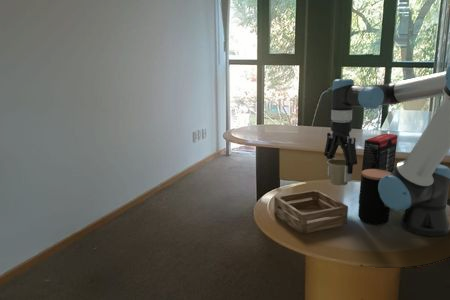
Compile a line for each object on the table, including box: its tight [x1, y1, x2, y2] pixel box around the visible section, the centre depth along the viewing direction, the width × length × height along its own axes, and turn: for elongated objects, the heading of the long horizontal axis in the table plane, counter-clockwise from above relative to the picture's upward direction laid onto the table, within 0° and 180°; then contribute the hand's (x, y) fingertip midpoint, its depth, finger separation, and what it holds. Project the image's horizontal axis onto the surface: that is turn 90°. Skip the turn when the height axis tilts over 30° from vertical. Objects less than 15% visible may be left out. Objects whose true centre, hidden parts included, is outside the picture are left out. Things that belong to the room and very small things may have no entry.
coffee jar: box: [357, 169, 391, 226], centre depth 143 cm, size 11×11×18 cm
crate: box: [273, 189, 349, 235], centre depth 146 cm, size 19×19×7 cm
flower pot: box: [326, 158, 350, 187], centre depth 153 cm, size 9×9×9 cm
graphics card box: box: [358, 133, 399, 199], centre depth 160 cm, size 17×7×27 cm, turn 136°
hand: (339, 178), depth 153 cm, fingers closed on flower pot, 9 cm apart
